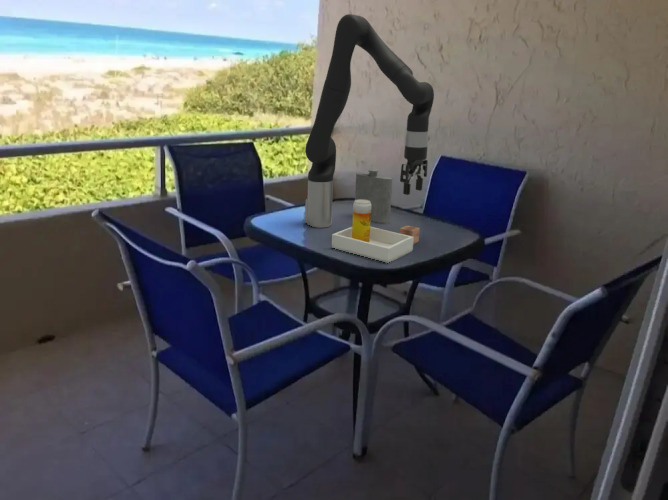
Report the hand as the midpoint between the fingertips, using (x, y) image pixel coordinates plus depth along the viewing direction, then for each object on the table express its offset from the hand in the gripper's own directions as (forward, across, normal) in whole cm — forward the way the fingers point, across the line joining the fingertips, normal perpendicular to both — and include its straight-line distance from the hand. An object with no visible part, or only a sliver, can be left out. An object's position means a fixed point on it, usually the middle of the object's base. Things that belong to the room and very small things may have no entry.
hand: (412, 192), depth 198 cm
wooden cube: (+18, 0, 0) cm, 18 cm away
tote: (+18, -16, +5) cm, 24 cm away
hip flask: (+18, +14, +25) cm, 34 cm away
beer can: (+17, -16, +10) cm, 25 cm away
